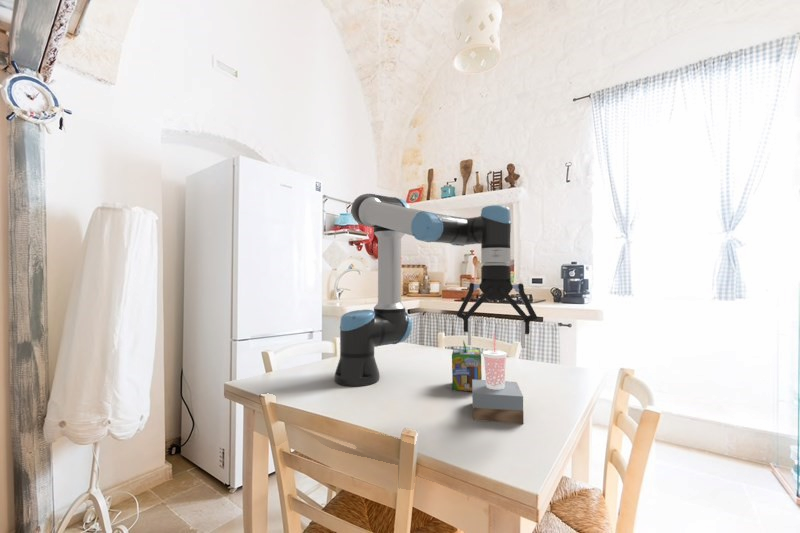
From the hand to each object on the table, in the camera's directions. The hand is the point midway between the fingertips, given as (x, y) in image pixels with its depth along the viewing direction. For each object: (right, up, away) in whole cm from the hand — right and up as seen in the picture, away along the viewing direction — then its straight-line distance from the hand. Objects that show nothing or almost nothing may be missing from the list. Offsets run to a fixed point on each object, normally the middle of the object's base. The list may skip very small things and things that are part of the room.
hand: (495, 345), depth 94 cm
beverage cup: (0, -11, 0) cm, 11 cm away
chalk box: (-4, -18, +21) cm, 28 cm away
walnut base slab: (0, -18, -1) cm, 18 cm away
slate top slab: (0, -14, 0) cm, 14 cm away
